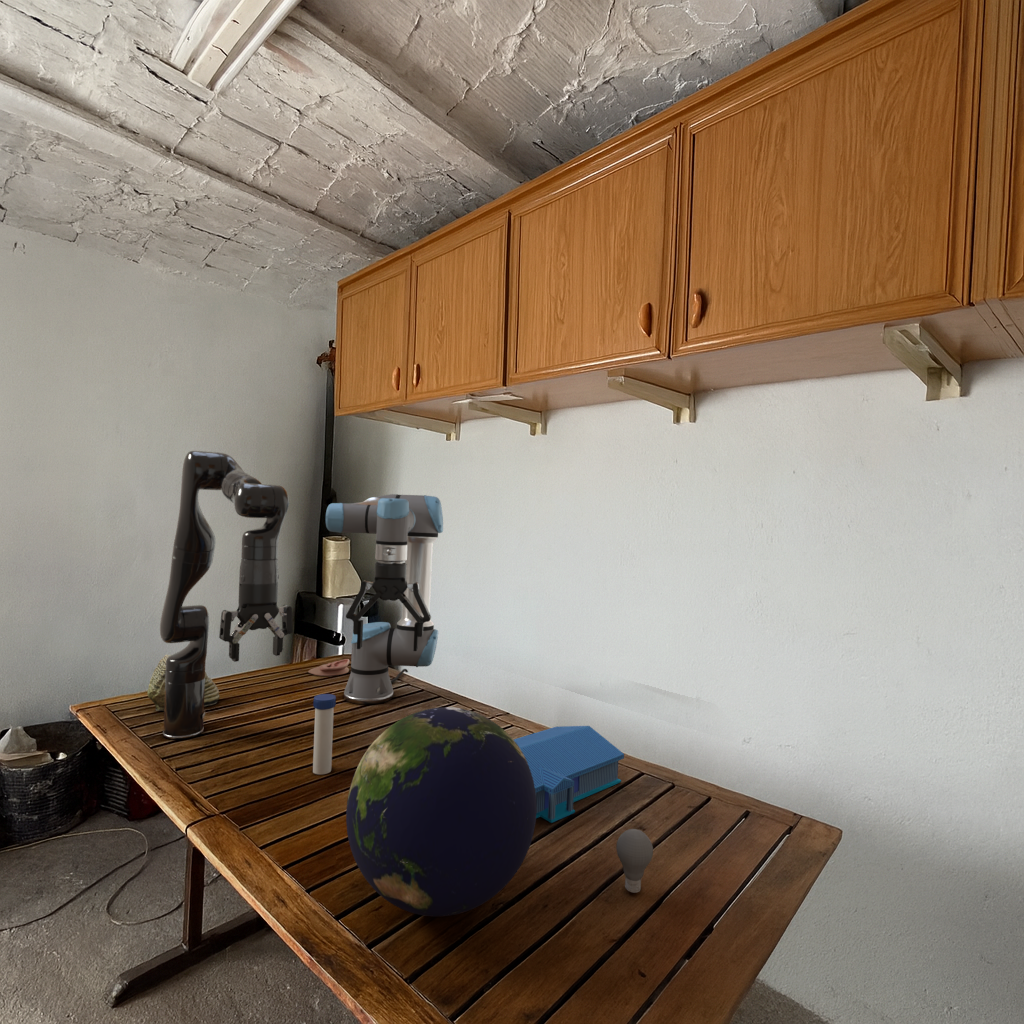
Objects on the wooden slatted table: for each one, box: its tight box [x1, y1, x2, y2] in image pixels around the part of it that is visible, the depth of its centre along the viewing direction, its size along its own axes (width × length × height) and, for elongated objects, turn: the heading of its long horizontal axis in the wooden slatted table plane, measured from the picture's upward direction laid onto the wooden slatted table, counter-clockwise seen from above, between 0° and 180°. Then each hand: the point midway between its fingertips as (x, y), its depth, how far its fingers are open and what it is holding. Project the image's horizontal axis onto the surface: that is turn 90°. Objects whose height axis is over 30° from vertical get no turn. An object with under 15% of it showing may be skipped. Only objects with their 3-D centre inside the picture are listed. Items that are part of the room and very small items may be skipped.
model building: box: [513, 725, 625, 824], centre depth 140 cm, size 39×24×10 cm, turn 132°
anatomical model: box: [308, 658, 351, 677], centre depth 227 cm, size 13×4×12 cm
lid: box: [312, 693, 337, 709], centre depth 146 cm, size 5×5×2 cm
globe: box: [345, 706, 537, 918], centre depth 101 cm, size 30×30×30 cm
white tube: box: [312, 707, 335, 776], centre depth 146 cm, size 4×4×17 cm
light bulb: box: [615, 828, 654, 894], centre depth 106 cm, size 6×6×10 cm
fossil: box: [147, 654, 221, 712], centre depth 185 cm, size 9×18×15 cm, turn 132°
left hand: (256, 657), depth 132 cm, fingers open, 8 cm apart
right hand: (387, 648), depth 154 cm, fingers open, 13 cm apart
